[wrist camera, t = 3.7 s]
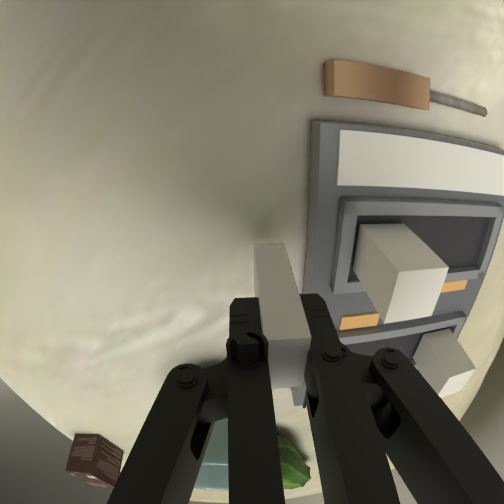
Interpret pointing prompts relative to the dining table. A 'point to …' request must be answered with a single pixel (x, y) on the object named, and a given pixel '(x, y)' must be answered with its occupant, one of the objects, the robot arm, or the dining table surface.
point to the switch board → (398, 212)
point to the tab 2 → (443, 362)
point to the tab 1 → (398, 271)
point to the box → (95, 460)
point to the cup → (215, 460)
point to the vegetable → (292, 465)
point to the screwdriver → (387, 86)
